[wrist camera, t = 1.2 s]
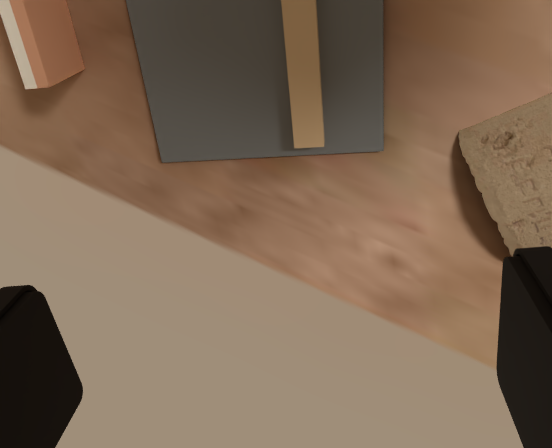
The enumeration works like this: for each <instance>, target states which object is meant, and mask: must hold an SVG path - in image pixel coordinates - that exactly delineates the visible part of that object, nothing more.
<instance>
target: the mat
mask: <svg viewBox="0 0 552 448" xmlns="http://www.w3.org/2000/svg"><path fill="white" fill-rule="evenodd" d="M126 3H127V8H128V12H129V17H130V21H131V26H132V30H133V35H134V39H135V44H136V48H137V53H138V57H139V62H140V66H141V71H142V75H143V80H144V84H145V89H146V93H147V98H148V102H149V107H150V111H151V116H152V120H153V125H154V129H155V134H156V138H157V143H158V147H159V151H160V156H161V160H162V163H165V162H184V161H203V160H223V159H242V158H261V157H280V156H299V155H318V154H337V153H356V152H376V151H384V109H383V0H126Z"/></svg>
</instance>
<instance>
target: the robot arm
mask: <svg viewBox="0 0 552 448" xmlns="http://www.w3.org/2000/svg"><path fill="white" fill-rule="evenodd" d="M497 376H498V381H499V385H500V388H501V390H502V393H503V395H504V398H505V401H506V403H507V406H508V408H509V411H510V413H511V416H512V419H513V421H514V424H515V426H516V429H517V431H518V434H519V437H520V439H521V442H522V444H523V447H524V448H552V248H551V247H550V246H543V247H529V248H517V249H515V251H514V253H513V257H505V258H504V261H503V270H502V286H501V303H500V319H499V336H498V352H497ZM82 394H83V387H82V383H81V381H80V379H79V376H78V374H77V371H76V369H75V367H74V364H73V362H72V360H71V357H70V355H69V353H68V350H67V348H66V345H65V343H64V341H63V338H62V336H61V334H60V331H59V329H58V327H57V324H56V322H55V320H54V317H53V315H52V313H51V310H50V308H49V305H48V303H47V301H46V298H45V297H44V295H43V294H42V293H41V292H39V291H37V290H36V289H35V288H34V287H33V286H30V285H24V286H11V287H3V288H1V289H0V448H55V447H56V445H57V443H58V441H59V440H60V438H61V436H62V434H63V432H64V431H65V429H66V427H67V425H68V423H69V422H70V420H71V418H72V416H73V414H74V413H75V411H76V409H77V407H78V405H79V404H80V402H81V399H82Z"/></svg>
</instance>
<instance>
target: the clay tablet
mask: <svg viewBox="0 0 552 448" xmlns="http://www.w3.org/2000/svg"><path fill="white" fill-rule="evenodd" d="M458 137H459V140H460V143H459V145H460V148H461V150H462V156H463V157H464V158H466V163H467V164H468V165H469V167H470V171H471V174H472V175H473V176H474V177H475V184H476V186H477V188H478V190H479V191H480V192H482V197H483V200H484V203H485V205H486V208H487V210H488V212H489V214H490V216H491V218H492V219H493V220H494V221H496V222H497V223H498V230H499V232H500V233H501V236H502V237H503V238H504V244H505V245H506V246H507V247H508V248H509V252H510V255H512V257H513V253H514V251H515V249H517V248H529V247H543V246H550V247H551V248H552V93H550V94H548V95H545V96H543V97H541V98H539V99H536V100H534V101H532V102H529V103H527V104H524V105H522V106H519V107H517V108H514V109H512V110H509V111H507V112H505V113H502V114H501V115H499V116H495V117H493V118H491V119H488V120H486V121H483V122H481V123H478V124H476V125H474V126H471V127H468V128H465V129H463V130H460V131H459V136H458Z"/></svg>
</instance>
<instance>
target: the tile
mask: <svg viewBox="0 0 552 448" xmlns="http://www.w3.org/2000/svg"><path fill="white" fill-rule="evenodd" d="M0 14H1V17H2V20H3V23H4V26H5V29H6V32H7V35H8V38H9V41H10V44H11V47H12V50H13V53H14V56H15V59H16V62H17V65H18V68H19V71H20V74H21V77H22V80H23V83H24V86H25V89H36V88H49V87H51V86H53V85H55V84H57V83H59V82H61V81H63V80H65V79H67V78H69V77H71V76H73V75H75V74H76V73H78V72H80V71H82V70H84V69H85V67H84V64H83V60H82V56H81V53H80V49H79V45H78V42H77V38H76V34H75V31H74V27H73V23H72V20H71V16H70V12H69V9H68V5H67V1H66V0H0Z"/></svg>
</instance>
